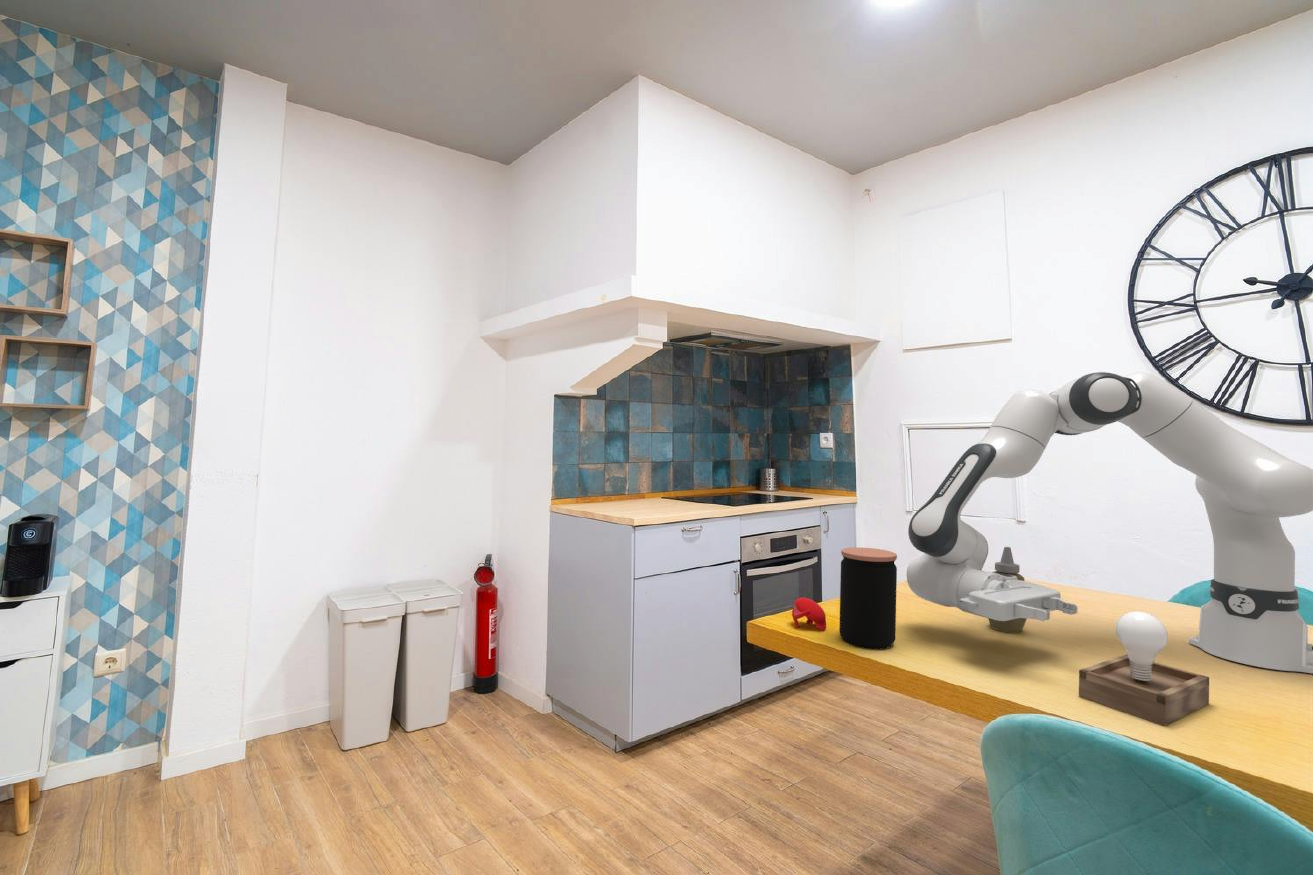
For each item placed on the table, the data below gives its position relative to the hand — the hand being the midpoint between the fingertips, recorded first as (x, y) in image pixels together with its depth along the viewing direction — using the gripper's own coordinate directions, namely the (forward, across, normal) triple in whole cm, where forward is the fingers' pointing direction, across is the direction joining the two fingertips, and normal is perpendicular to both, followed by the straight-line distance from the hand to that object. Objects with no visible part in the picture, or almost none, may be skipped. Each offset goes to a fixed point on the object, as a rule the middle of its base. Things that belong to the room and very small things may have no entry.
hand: (1062, 612), depth 103 cm
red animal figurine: (-39, -22, +11) cm, 46 cm away
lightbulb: (+12, -1, +8) cm, 14 cm away
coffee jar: (-27, -18, +11) cm, 34 cm away
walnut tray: (+12, 0, +11) cm, 16 cm away
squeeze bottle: (-19, +17, +11) cm, 28 cm away
